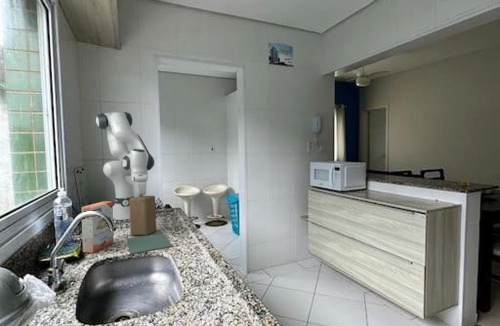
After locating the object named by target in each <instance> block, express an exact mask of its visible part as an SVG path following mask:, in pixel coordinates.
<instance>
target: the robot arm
mask: <svg viewBox="0 0 500 326" xmlns="http://www.w3.org/2000/svg"><path fill="white" fill-rule="evenodd" d="M133 123H134V122H133V116H132V114H131V113H130V112H127V111H123V112H121V111H112V112H102V113H98V114H97V115H96V117H95V124H96V126H97V127H98V128H99V129H100V130H106V131H107V132H106V136H107V137H106V138H107V144H108V148H109V153H110V154H111V156H113V157H115V158H116V159H118V160H112V161H108V162H105V163H104V164H103V167H102V171H103V174H104V176H106V177H107V178H108V179H110V180H111V182H112V184H113V185H114V192H115V198H114V203H115V204H113V220H116V221H122V220H130V204H129V200H130V198H133V197H135V196H134V191H135V192H136V194H137V197H138V196H146V194H147V181H148V180H149V179H148V177H149V176H148V174H149V173H148V172H149V171H151V169H152V168H153V167H154V166H155V158H154V156H152V154H151V153H150V151H149V150H148V148H147V147H146V145H145V143H144V141H143V139H142V138H141V136H140V135H139V134H138V133H136V132H135V131H134V130H133V129H132V125H133ZM128 144H129V145H131V146H133V147H135V148H133V149H131V150H129V147H128ZM126 177H130V179H131V181H133V184H134V185H133V184H132V182H129V181H127V179H126Z"/></svg>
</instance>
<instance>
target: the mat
mask: <svg viewBox="0 0 500 326" xmlns="http://www.w3.org/2000/svg"><path fill="white" fill-rule="evenodd" d="M126 242H127V246H128V250H129V253H130V255H135V254H136V255H137V254H141V253H146V252H151V251H156V250H157V251H158V250H163V249H167V248H173V245H172V243H171V242H170V240H169V239H168V238H167V236H166V235H165V234H164V232H161V233H154V234H148V235H139V236H135V237H129V238H126Z"/></svg>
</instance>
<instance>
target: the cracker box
mask: <svg viewBox="0 0 500 326" xmlns="http://www.w3.org/2000/svg"><path fill="white" fill-rule="evenodd" d="M113 206H114V202H113V201H111V200H110V201H109V200H108V201H107V200H106V201H100V202H97V203H93V204H92V203H91V204H89V205H84V206H81V214H82V213H83V212H86V211H100V212H102V213H104V214H105V215H107V216H108V217H109V218H110V219H111V221H112V223H113V224H114V219H113ZM81 231H82V232H81V233H82V235H81V236H82V253H85V254H86V253H90V254H94V253H96V252H98V251H100V250H102V249H103V248H106V247H108V246H110V245H112V244H114V241H115V240H114V239H115V238H114V236H115V235H114V232H112V231H111V230H110V229H109V227H108V225H107V224H106V222H105V221H104V220H103V219H101V218H98V217H89V218H85V219H83V220H82V219H81Z"/></svg>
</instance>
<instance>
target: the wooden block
mask: <svg viewBox="0 0 500 326" xmlns="http://www.w3.org/2000/svg"><path fill="white" fill-rule="evenodd" d="M129 204H130V219H129V225H130V235H131V236H147V235H151V234H152V233H155V232H156V231H157V214H156V212H157V211H156V210H157V209H156V196H154V195H143V196H138V195H137V196H134V197H133V198H130V200H129Z"/></svg>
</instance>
